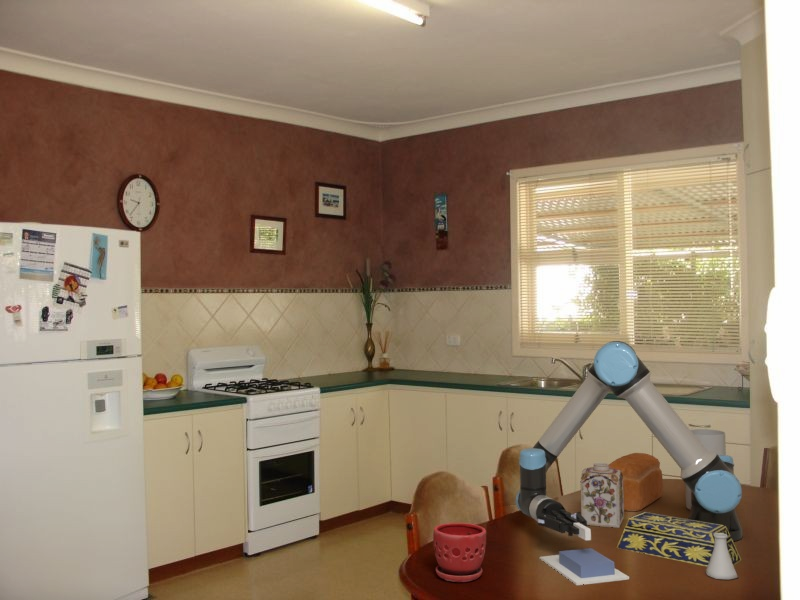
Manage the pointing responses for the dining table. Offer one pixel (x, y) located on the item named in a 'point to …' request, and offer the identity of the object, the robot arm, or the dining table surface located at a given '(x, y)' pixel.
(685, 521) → the decorative box
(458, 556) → the plant pot
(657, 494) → the bread
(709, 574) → the flask
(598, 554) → the book
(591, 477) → the decorative jar
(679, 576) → the dining table surface
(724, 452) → the cylinder vase
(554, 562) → the mat
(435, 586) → the dining table surface
